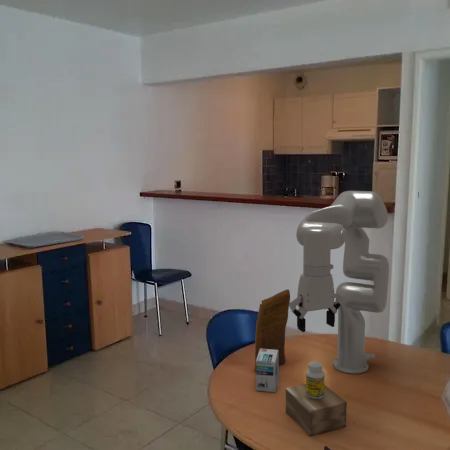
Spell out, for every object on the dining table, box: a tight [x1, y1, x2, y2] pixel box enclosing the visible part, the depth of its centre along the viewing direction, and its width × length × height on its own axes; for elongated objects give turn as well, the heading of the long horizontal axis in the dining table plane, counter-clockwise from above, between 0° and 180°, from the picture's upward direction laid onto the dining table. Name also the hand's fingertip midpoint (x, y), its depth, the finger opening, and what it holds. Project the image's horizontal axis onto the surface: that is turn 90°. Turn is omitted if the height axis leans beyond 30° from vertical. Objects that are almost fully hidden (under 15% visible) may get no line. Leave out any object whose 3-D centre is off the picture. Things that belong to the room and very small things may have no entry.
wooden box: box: [285, 391, 348, 437], centre depth 145 cm, size 12×14×7 cm
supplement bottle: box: [305, 361, 326, 399], centre depth 144 cm, size 5×5×10 cm
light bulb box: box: [255, 348, 280, 393], centre depth 166 cm, size 11×7×11 cm, turn 168°
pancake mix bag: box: [254, 289, 291, 373], centre depth 179 cm, size 7×19×28 cm, turn 132°
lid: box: [284, 383, 348, 413], centre depth 144 cm, size 12×14×1 cm
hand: (316, 327), depth 141 cm, fingers open, 9 cm apart
